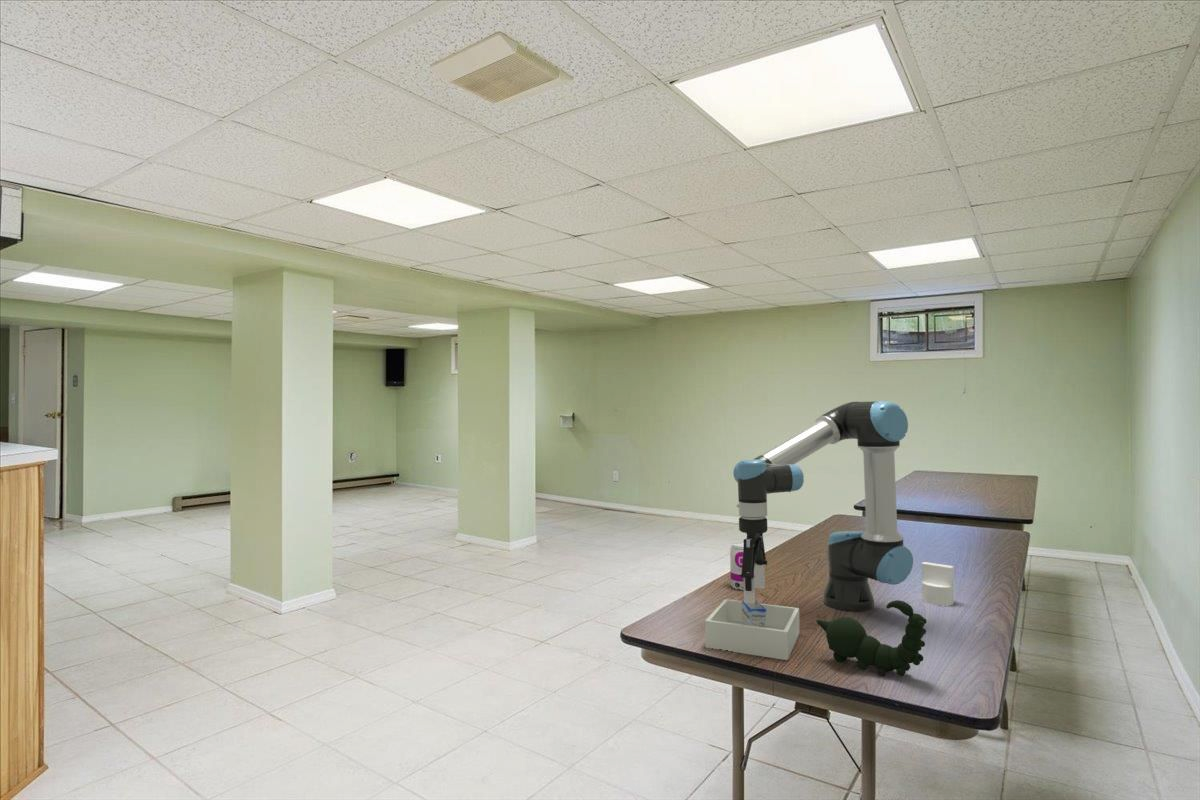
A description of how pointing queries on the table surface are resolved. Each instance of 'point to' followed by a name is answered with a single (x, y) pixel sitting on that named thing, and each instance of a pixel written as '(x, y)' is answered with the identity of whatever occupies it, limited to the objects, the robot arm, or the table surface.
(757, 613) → the medicine box
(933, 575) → the cylinder with rectangular tab
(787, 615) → the open bin
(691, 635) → the table surface
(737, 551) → the supplement can
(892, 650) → the toy figurine
